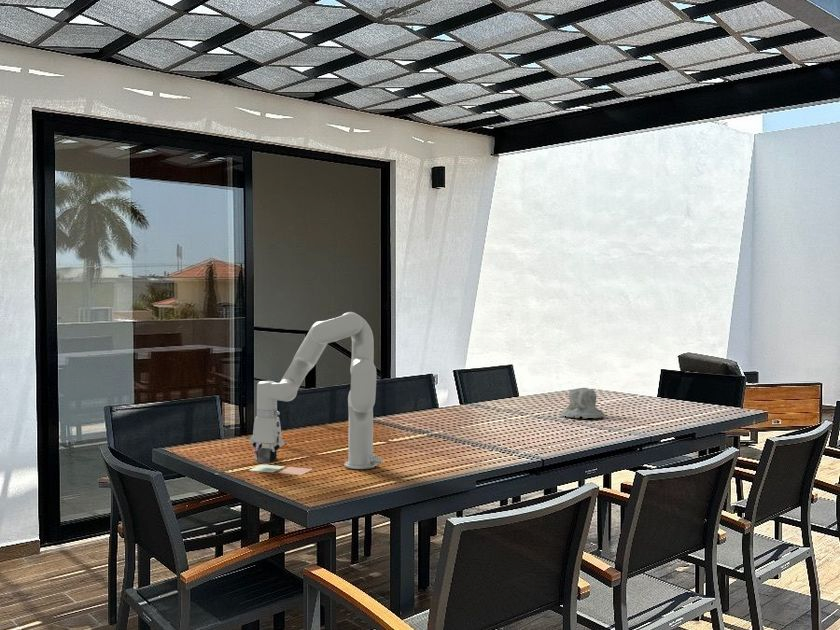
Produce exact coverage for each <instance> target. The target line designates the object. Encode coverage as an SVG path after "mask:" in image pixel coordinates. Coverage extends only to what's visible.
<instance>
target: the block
mask: <svg viewBox="0 0 840 630" xmlns="http://www.w3.org/2000/svg"><path fill="white" fill-rule="evenodd" d="M271 452H272V450H271V447H262V448H260V449H258V455H257V460H256V462H257V463H259V464H260V463H261V464H267V465H270V464H271V463H273V462H271V461H270V458H271Z"/></svg>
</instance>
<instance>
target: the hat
mask: <svg viewBox="0 0 840 630" xmlns="http://www.w3.org/2000/svg"><path fill="white" fill-rule="evenodd" d="M568 398H569V404H568V405H567V406H566V407H565V408H564V409H563V410H562V411H561V412H560V416H561V415H562V416H561V417H565V416H566V418H573V419H574V418H575V419H580V417H582V419H587V418H593V419H600V418H602V417H603V418H605V417H606V415H605V412H603V410H600V409H599V408H597V406H596V405H597V394H596V392H595V390H594V389H591V388H587V387H586V388H585V387H580V388H576V389H571V390H569V392H568ZM604 416H605V417H604Z"/></svg>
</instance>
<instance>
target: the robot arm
mask: <svg viewBox="0 0 840 630" xmlns="http://www.w3.org/2000/svg"><path fill="white" fill-rule="evenodd" d="M346 338H351V361H350V369H349V371H350V390H349V391H348V395H347V406H348V429H347V431H348V445H347V446H348V453H347V455H348V459H347V460H346V461H345V462H344V467H346V468H347V469H352V470H353V469H354V470H368V469H373V468H375V466H376V467H377V465H378V464H383V458H382V457H377V456H376V453H374V446H373V445H374V406H375V403H376V396H377V395H376V394H377V367H376V365H375V364H374V359H375V355H374V354H375V349H374V344H375V343H374V334H373V330H372V328H371V326H370V325H369V323H368V322H367V320H366V319H364V317H362V316H361V315H359V314H357V313H356V312H354V311H348V312H345V313H343V314H342V315H340V316H337V317H334V318H330V319H325V320H318V321H315V322H314V323H313V324H312V325H311V327H310V329H309V331H308V332H307V334H306V336H305V337H304V339H303V340H302V343H301V344H300V346H299V348H298V349H297V350H296V353H295V355H294V356H293V358H292V361H291V362H290V365H289V367H288V368H287V369H286V371H285V373H284V375H283V376H282V378H281V380H280V382H276V381H274V380H261V381H258V383H257V384H256V385H257V386H256V416H255V418H254V422H253V430H252V435H251V437H249V440H248V442H249V443H250V444H251V445H252V446H253V448H254V447H255V450H257V455H258V449H260V448H262V444H263V443H264V444H270V446H271V450H272V452H271V458H270V461H271V462H272V463H274V462H276V461H277V453H278V450H279V449H280V448H281V447H282V446H284V445H285V441H284V440H283V438H282V427H281V420H280V417H279V416H280V414H281V412H280V411H278V401H281V402H291V401H293V400H294V399H295V398H296V397H297V394H298V390H299V388H300V386H301V384H302V383H303V381H304V379H305V378H306V376H307V375H308V373H309V372H310V371H311V370H312V369H313V368H314V367H315V365H316V364H317V363H318V361H319V359H320V357H321V356H322V354H323V352H324V350H325V349H326V347H327V345H328V344H330V343H334V342H337V341H341V340H343V339H346Z"/></svg>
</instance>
